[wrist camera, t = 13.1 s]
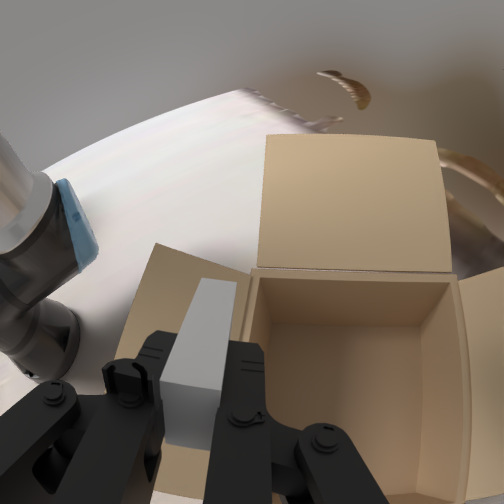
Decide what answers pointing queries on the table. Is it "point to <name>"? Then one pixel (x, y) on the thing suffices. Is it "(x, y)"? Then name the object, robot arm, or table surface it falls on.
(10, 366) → the table surface
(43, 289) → the robot arm
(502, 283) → the carton
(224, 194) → the table surface
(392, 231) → the carton flap
